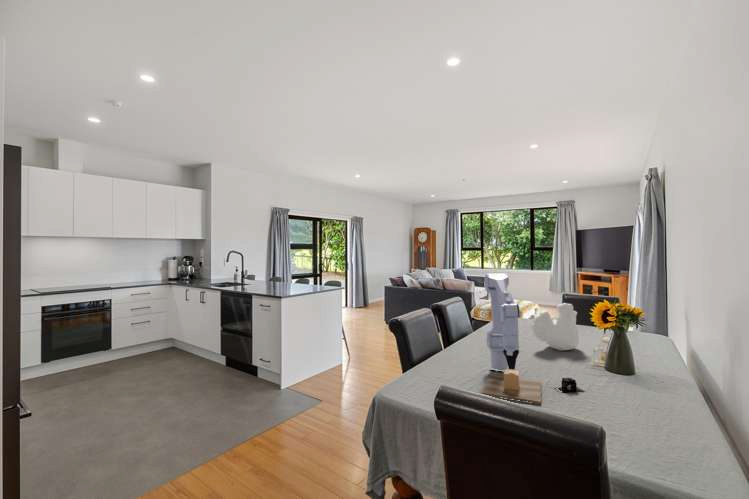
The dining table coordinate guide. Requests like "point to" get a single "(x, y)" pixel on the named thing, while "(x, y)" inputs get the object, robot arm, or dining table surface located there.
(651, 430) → the dining table surface
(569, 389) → the black winged block
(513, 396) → the base board
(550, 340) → the decorative rooster
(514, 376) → the tan wooden cube
